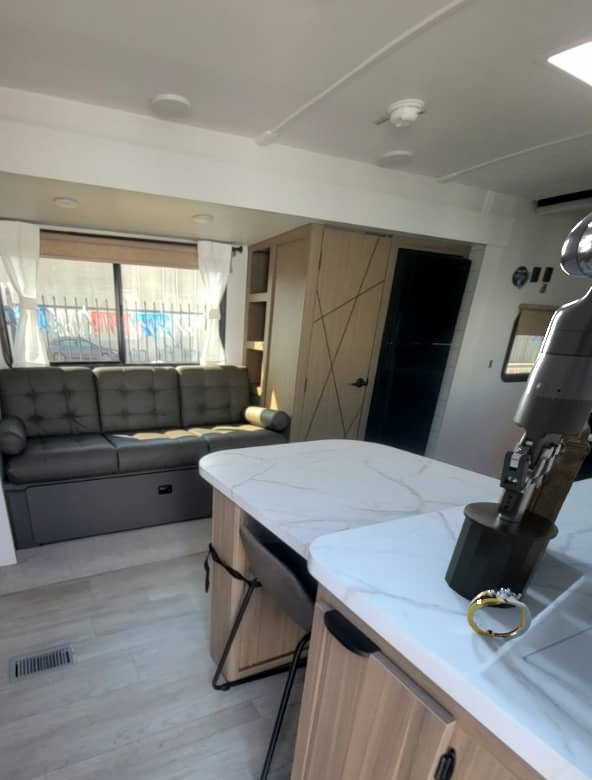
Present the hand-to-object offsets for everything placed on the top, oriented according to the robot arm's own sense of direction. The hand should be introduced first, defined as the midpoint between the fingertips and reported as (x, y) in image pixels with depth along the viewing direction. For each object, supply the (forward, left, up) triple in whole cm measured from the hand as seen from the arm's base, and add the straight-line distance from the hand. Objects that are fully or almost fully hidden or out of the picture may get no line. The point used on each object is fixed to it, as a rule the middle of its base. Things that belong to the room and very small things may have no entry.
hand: (511, 511), depth 60 cm
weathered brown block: (-18, -3, -14) cm, 23 cm away
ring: (+11, +6, -14) cm, 19 cm away
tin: (0, 0, -14) cm, 14 cm away
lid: (0, 0, -2) cm, 2 cm away
